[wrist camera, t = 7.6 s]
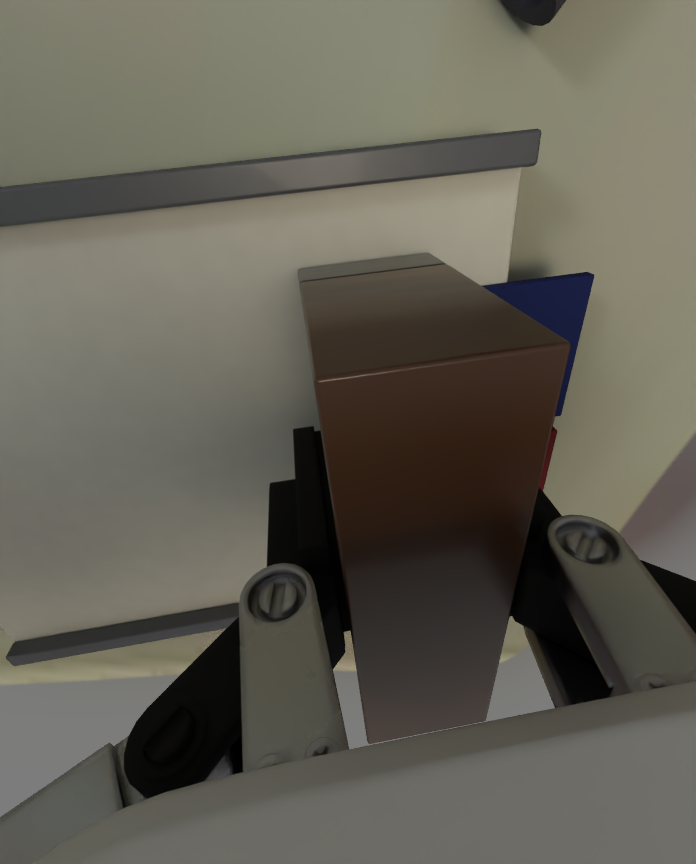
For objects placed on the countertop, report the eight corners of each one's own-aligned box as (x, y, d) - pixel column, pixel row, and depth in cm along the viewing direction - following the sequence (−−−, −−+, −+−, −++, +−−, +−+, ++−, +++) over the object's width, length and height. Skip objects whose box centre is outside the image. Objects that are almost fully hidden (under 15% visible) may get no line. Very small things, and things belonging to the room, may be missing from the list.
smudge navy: (424, 430, 12) (428, 436, 12) (427, 292, 10) (431, 295, 10) (555, 410, 12) (561, 415, 12) (587, 271, 10) (595, 274, 10)
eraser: (340, 563, 15) (368, 745, 10) (296, 268, 9) (313, 378, 5) (423, 549, 15) (486, 721, 10) (430, 251, 9) (574, 342, 5)
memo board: (41, 613, 16) (13, 667, 15) (-303, 220, 8) (-454, 236, 7) (458, 541, 17) (478, 583, 16) (495, 132, 10) (543, 128, 8)
